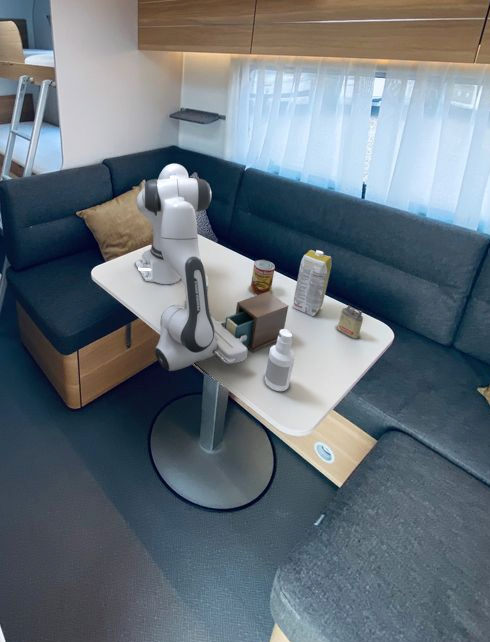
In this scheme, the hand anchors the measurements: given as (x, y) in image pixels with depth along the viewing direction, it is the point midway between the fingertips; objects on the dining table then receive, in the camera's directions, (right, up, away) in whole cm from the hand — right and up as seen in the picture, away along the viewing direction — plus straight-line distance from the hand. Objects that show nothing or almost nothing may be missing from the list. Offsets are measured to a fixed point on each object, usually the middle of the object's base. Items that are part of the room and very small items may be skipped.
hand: (237, 329), depth 133 cm
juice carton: (+32, +1, +22) cm, 38 cm away
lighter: (+41, -4, +10) cm, 42 cm away
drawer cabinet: (+8, -4, +6) cm, 11 cm away
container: (+3, -4, +3) cm, 6 cm away
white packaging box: (-11, +1, +20) cm, 23 cm away
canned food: (+17, +5, +32) cm, 37 cm away
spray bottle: (+8, -12, -13) cm, 19 cm away
